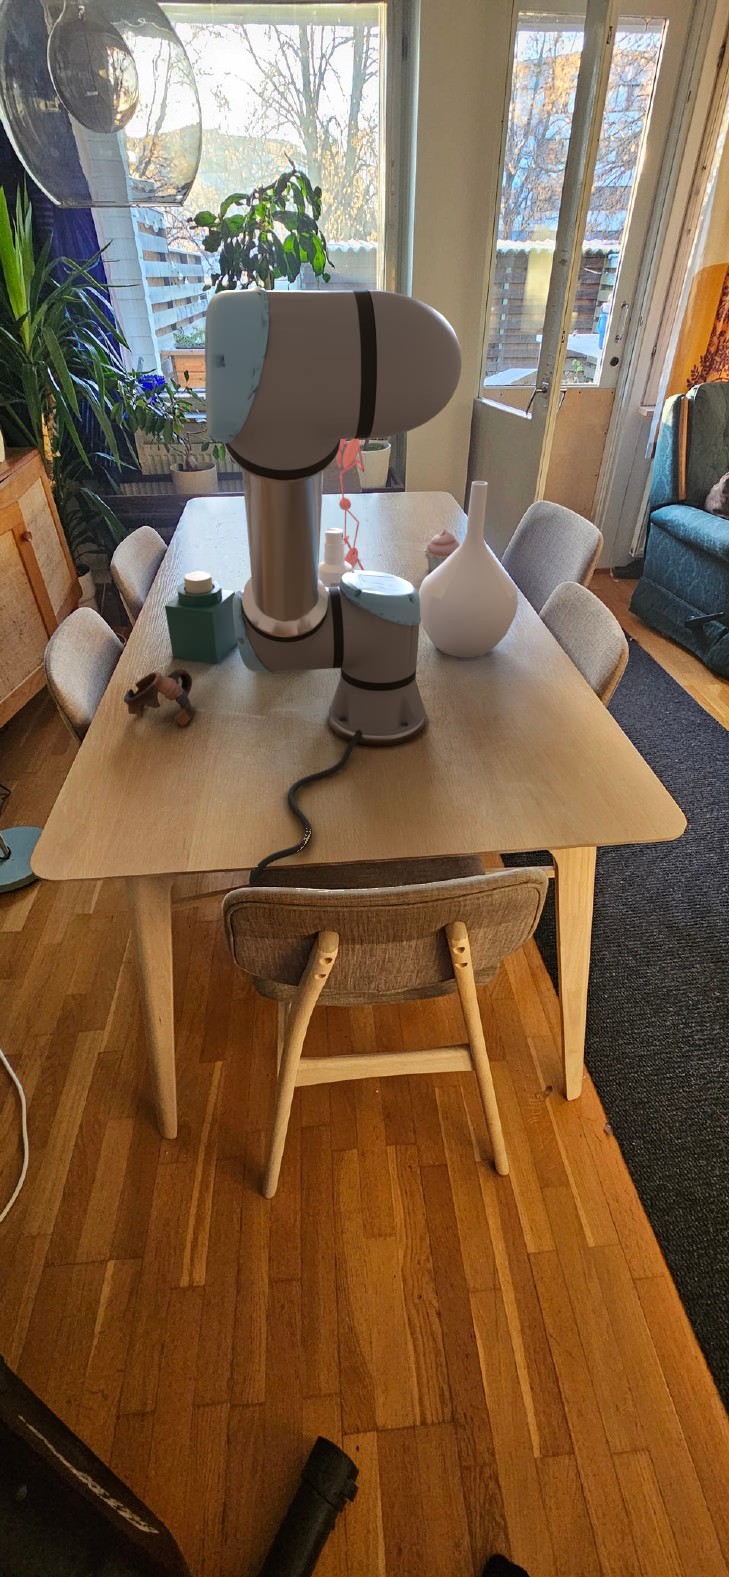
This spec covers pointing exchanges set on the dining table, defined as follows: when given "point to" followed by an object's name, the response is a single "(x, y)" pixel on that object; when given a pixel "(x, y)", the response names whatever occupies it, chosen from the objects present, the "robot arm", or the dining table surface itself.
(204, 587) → the beige cylinder
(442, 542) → the cupcake
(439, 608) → the vase
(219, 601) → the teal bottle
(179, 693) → the brown jagged looped figure
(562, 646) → the dining table surface
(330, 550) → the white bottle
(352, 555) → the figurine
